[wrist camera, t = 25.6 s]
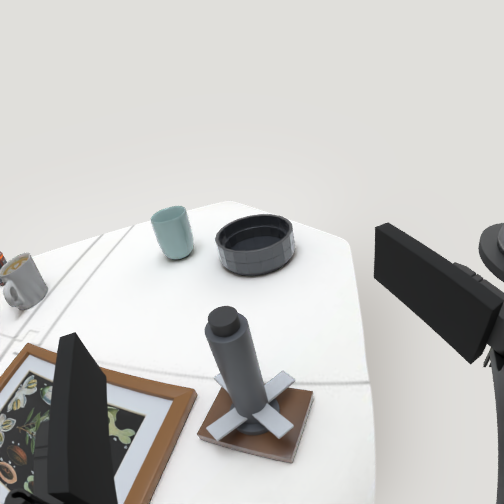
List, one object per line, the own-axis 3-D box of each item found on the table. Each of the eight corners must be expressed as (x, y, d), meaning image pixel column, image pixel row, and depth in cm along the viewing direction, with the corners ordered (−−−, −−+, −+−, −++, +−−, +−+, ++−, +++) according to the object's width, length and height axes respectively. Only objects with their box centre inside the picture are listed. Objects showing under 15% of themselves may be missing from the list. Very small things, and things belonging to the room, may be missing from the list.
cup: (196, 260, 67) (183, 217, 62) (161, 267, 67) (146, 225, 62) (198, 242, 74) (187, 202, 69) (166, 248, 74) (154, 210, 69)
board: (313, 397, 35) (313, 391, 34) (292, 463, 28) (291, 458, 28) (229, 382, 39) (227, 375, 39) (200, 439, 32) (196, 434, 32)
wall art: (27, 342, 49) (194, 388, 38) (31, 347, 50) (197, 394, 38) (-54, 455, 24) (97, 598, 13) (-48, 460, 25) (105, 599, 13)
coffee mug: (30, 286, 71) (14, 254, 66) (54, 284, 70) (36, 250, 64) (4, 318, 60) (-16, 285, 55) (27, 319, 58) (5, 283, 53)
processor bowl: (302, 238, 68) (299, 214, 65) (283, 280, 56) (279, 254, 53) (238, 236, 73) (233, 214, 70) (209, 275, 62) (202, 250, 59)
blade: (260, 363, 40) (235, 261, 32) (325, 411, 32) (322, 308, 24) (190, 412, 34) (136, 318, 26) (248, 475, 26) (203, 398, 18)
